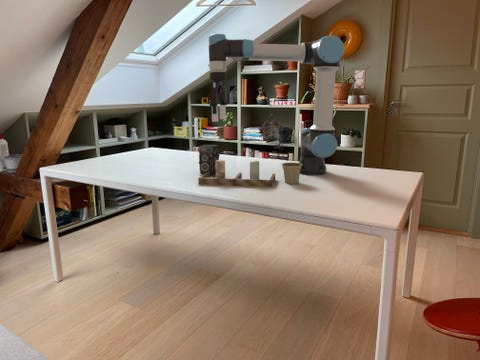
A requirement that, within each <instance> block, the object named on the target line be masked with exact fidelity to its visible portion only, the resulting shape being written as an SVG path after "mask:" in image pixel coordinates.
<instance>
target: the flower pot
mask: <svg viewBox="0 0 480 360" xmlns="http://www.w3.org/2000/svg"><path fill="white" fill-rule="evenodd" d="M281 166H282V169H283V175H284V176H283V177H284V183H286V184H290V185H295V184H298V183H299V182H300V175H301V173H300V169H301V166H302V164H301V163H299V162H293V161H292V162H291V161H290V162H284V163H282V164H281Z"/></svg>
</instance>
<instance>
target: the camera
mask: <svg viewBox="0 0 480 360" xmlns="http://www.w3.org/2000/svg"><path fill="white" fill-rule="evenodd" d="M219 147H220V146H219V144H202V145H199V146H198V148H197V150H198V160H199V161H198V164H199V174H200V175H201V176H202V175H203V174H204V173H206V172H209V176H210V175H212V176H215V175H216V160H220V155H221V154H220V150H219Z"/></svg>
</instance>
